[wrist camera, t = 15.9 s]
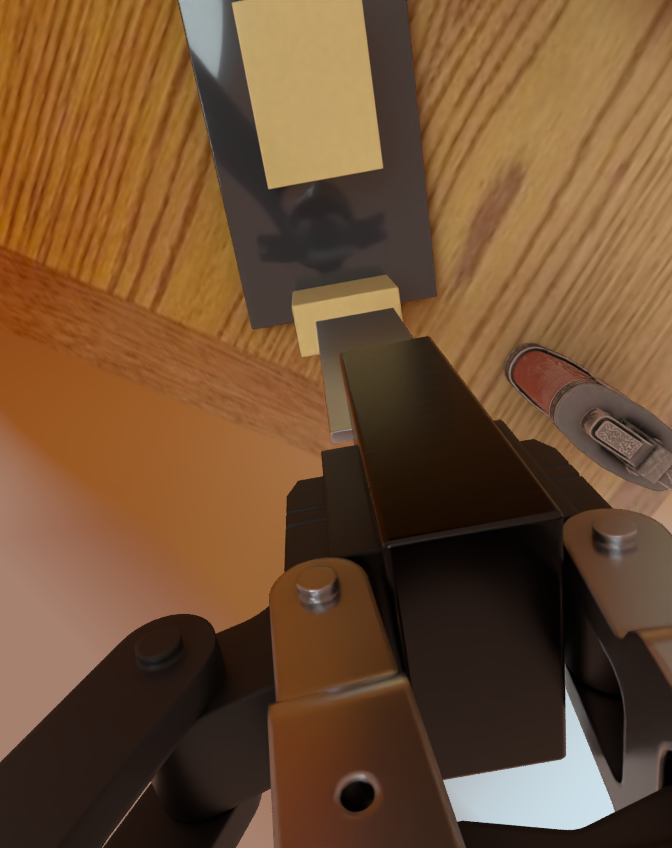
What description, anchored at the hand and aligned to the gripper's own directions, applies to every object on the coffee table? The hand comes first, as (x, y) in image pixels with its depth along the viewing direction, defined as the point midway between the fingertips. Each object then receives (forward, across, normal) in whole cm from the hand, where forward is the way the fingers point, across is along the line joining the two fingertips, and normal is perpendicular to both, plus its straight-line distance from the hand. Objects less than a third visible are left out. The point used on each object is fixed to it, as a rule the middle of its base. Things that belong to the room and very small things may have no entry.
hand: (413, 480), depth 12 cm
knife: (+12, 0, -1) cm, 12 cm away
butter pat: (+21, 0, +1) cm, 21 cm away
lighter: (+23, -12, +8) cm, 27 cm away
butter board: (+23, 0, -7) cm, 24 cm away
